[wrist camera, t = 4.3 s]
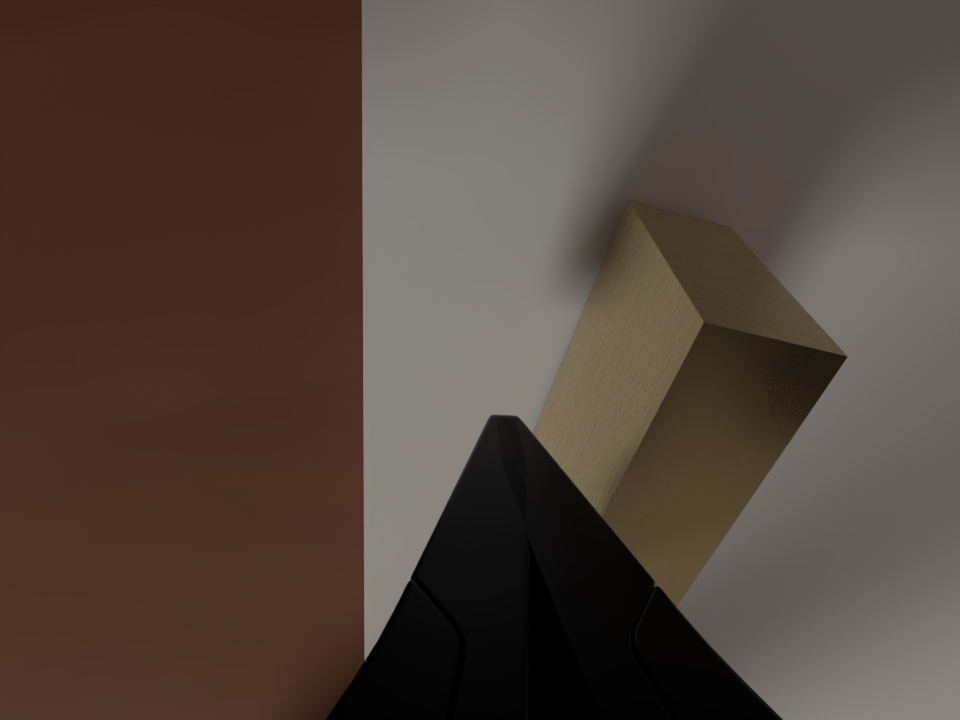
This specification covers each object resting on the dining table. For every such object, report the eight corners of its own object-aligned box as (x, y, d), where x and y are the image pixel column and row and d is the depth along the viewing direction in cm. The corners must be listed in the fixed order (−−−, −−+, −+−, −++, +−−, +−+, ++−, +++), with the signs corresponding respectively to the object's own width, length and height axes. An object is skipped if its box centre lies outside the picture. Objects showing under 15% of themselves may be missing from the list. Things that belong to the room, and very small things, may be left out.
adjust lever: (492, 784, 19) (497, 942, 16) (352, 769, 18) (331, 931, 15) (802, 246, 10) (949, 381, 7) (548, 178, 9) (588, 295, 6)
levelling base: (896, 777, 22) (951, 882, 20) (371, 764, 21) (358, 875, 19) (1626, -31, 9) (2046, -18, 7) (376, -186, 8) (338, -238, 6)
